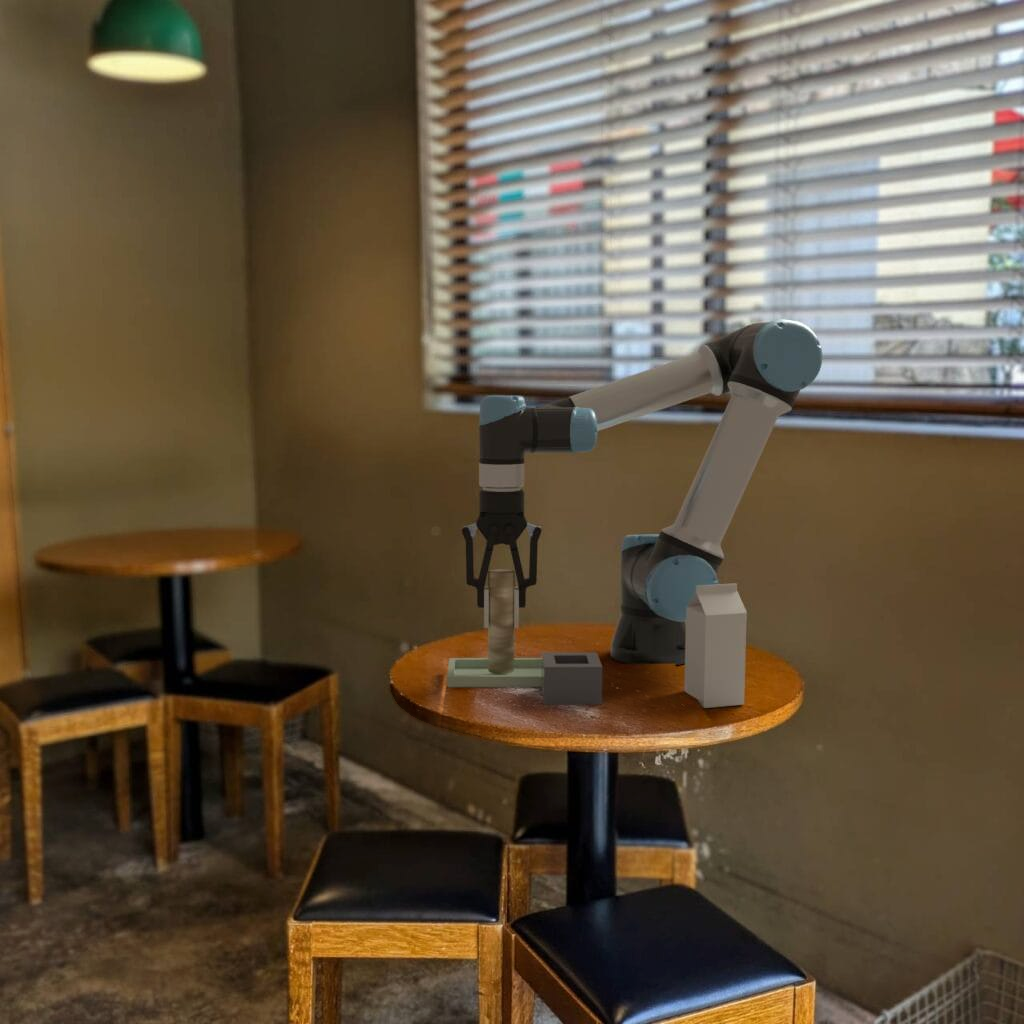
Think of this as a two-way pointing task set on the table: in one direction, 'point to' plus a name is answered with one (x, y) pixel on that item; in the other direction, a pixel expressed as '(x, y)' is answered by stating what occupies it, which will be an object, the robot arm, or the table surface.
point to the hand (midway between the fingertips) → (501, 626)
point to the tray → (477, 673)
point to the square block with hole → (571, 678)
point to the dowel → (501, 621)
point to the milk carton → (715, 646)
